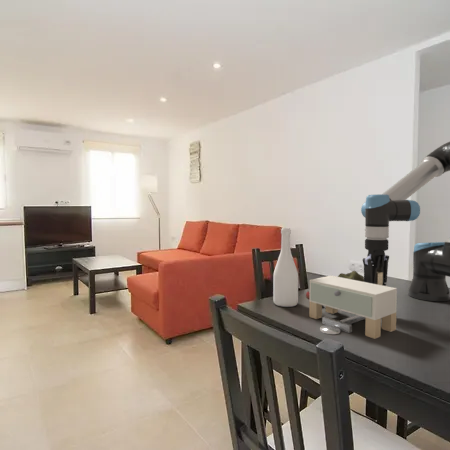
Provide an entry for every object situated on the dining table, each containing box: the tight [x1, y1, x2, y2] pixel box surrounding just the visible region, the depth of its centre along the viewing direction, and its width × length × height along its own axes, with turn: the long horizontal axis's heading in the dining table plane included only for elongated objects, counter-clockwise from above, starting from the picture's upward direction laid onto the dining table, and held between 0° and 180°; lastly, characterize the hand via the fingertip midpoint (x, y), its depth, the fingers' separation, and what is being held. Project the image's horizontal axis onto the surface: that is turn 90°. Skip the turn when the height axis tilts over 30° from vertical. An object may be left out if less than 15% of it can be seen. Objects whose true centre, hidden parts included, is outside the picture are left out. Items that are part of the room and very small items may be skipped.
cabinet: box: [308, 275, 398, 340], centre depth 109 cm, size 14×24×13 cm, turn 36°
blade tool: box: [321, 272, 383, 334], centre depth 112 cm, size 26×10×15 cm, turn 126°
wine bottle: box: [272, 227, 299, 308], centre depth 130 cm, size 10×10×30 cm
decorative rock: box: [337, 270, 364, 282], centre depth 145 cm, size 15×16×10 cm
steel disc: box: [319, 324, 341, 335], centre depth 103 cm, size 6×6×1 cm
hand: (375, 304), depth 118 cm, fingers closed on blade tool, 3 cm apart
